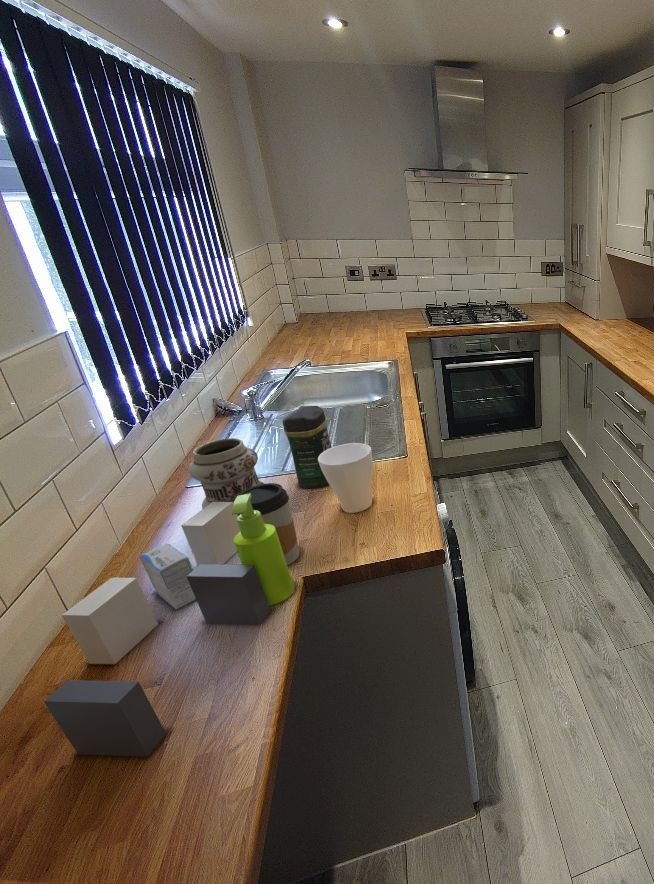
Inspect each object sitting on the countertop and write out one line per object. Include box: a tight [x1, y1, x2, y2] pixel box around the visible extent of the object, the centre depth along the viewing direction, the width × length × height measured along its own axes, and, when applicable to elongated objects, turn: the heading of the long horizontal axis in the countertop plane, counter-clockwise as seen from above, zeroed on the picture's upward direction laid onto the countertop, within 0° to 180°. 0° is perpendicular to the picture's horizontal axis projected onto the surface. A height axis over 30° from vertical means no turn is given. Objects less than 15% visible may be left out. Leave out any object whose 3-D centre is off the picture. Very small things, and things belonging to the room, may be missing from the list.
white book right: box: [180, 502, 240, 567], centre depth 99 cm, size 4×8×10 cm, turn 178°
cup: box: [318, 442, 374, 514], centre depth 114 cm, size 10×10×14 cm
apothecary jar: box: [187, 437, 266, 516], centre depth 109 cm, size 12×12×18 cm
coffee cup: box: [238, 482, 301, 566], centre depth 97 cm, size 8×8×15 cm
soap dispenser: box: [232, 493, 295, 606], centre depth 87 cm, size 6×7×20 cm
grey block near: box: [43, 679, 167, 757], centre depth 64 cm, size 9×3×10 cm, turn 88°
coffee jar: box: [282, 405, 333, 489], centre depth 125 cm, size 10×8×19 cm
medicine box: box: [139, 543, 196, 610], centre depth 90 cm, size 8×4×9 cm, turn 58°
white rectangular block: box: [61, 577, 159, 665], centre depth 79 cm, size 4×8×10 cm, turn 178°
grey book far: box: [186, 564, 272, 625], centre depth 84 cm, size 9×3×10 cm, turn 88°
